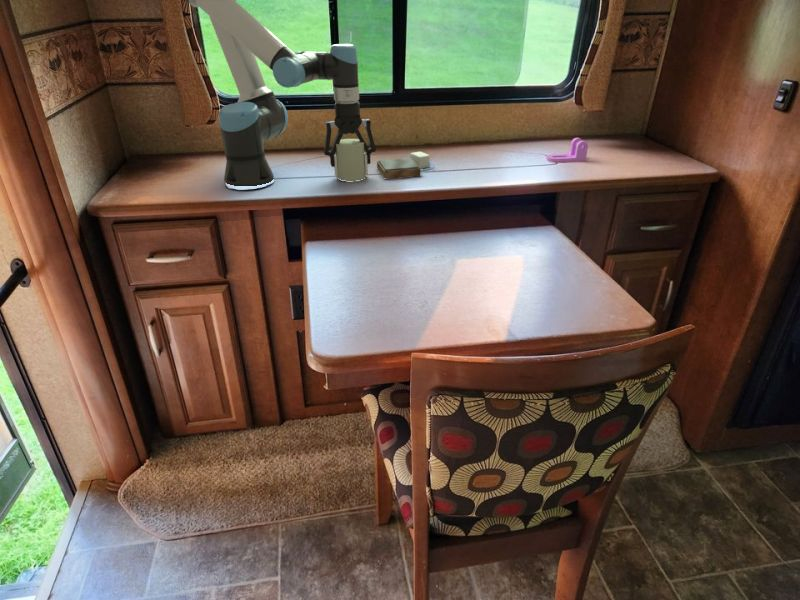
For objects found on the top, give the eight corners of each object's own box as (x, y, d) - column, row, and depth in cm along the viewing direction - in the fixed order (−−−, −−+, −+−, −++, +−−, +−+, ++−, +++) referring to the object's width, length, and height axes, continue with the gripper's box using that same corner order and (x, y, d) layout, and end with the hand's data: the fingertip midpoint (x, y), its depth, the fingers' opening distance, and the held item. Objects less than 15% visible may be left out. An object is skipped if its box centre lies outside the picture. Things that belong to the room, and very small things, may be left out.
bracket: (578, 157, 186) (582, 137, 183) (585, 161, 181) (588, 141, 178) (543, 158, 185) (546, 139, 181) (549, 163, 180) (552, 142, 176)
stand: (384, 179, 166) (384, 170, 165) (377, 168, 176) (376, 159, 175) (420, 176, 169) (420, 167, 167) (411, 165, 179) (411, 157, 177)
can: (352, 184, 162) (350, 145, 156) (331, 179, 167) (328, 141, 161) (371, 177, 168) (370, 139, 162) (350, 172, 173) (348, 135, 167)
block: (419, 168, 176) (419, 157, 174) (410, 164, 181) (410, 153, 179) (429, 167, 178) (429, 155, 176) (420, 162, 182) (420, 151, 180)
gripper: (311, 105, 151) (318, 181, 162) (384, 101, 155) (386, 175, 166) (309, 101, 157) (316, 174, 168) (379, 97, 161) (381, 169, 172)
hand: (351, 175), depth 167 cm, fingers closed on can, 9 cm apart
